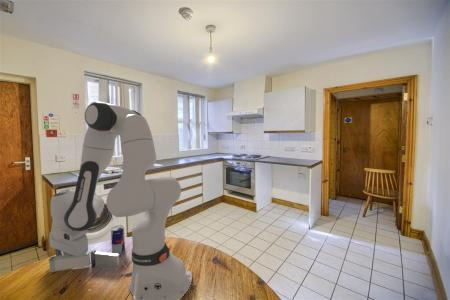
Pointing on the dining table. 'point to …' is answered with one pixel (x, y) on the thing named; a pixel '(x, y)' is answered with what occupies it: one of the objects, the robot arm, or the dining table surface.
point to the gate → (68, 262)
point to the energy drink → (118, 240)
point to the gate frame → (101, 259)
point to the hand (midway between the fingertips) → (69, 260)
